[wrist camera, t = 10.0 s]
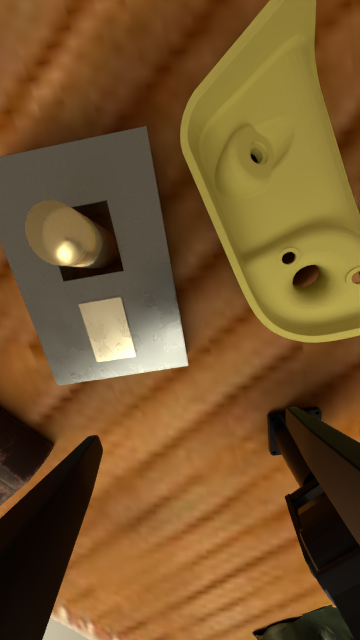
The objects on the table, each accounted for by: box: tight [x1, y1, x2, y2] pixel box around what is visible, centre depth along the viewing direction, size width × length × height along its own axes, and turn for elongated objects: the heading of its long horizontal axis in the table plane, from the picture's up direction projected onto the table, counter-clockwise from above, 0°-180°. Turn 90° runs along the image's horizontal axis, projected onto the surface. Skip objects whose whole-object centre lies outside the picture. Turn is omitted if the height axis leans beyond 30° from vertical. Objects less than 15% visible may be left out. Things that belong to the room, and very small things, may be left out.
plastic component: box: [180, 0, 360, 342], centre depth 15 cm, size 20×8×10 cm
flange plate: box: [0, 126, 188, 386], centre depth 17 cm, size 20×14×3 cm
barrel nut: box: [25, 200, 117, 269], centre depth 15 cm, size 4×4×6 cm
